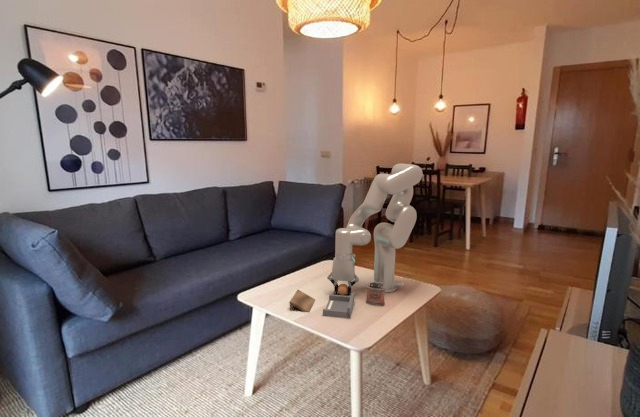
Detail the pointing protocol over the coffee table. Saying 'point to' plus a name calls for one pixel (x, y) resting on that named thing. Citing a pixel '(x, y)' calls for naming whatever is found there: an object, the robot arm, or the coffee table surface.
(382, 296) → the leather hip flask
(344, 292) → the ball
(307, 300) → the ramp
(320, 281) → the coffee table surface
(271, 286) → the coffee table surface
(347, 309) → the box
